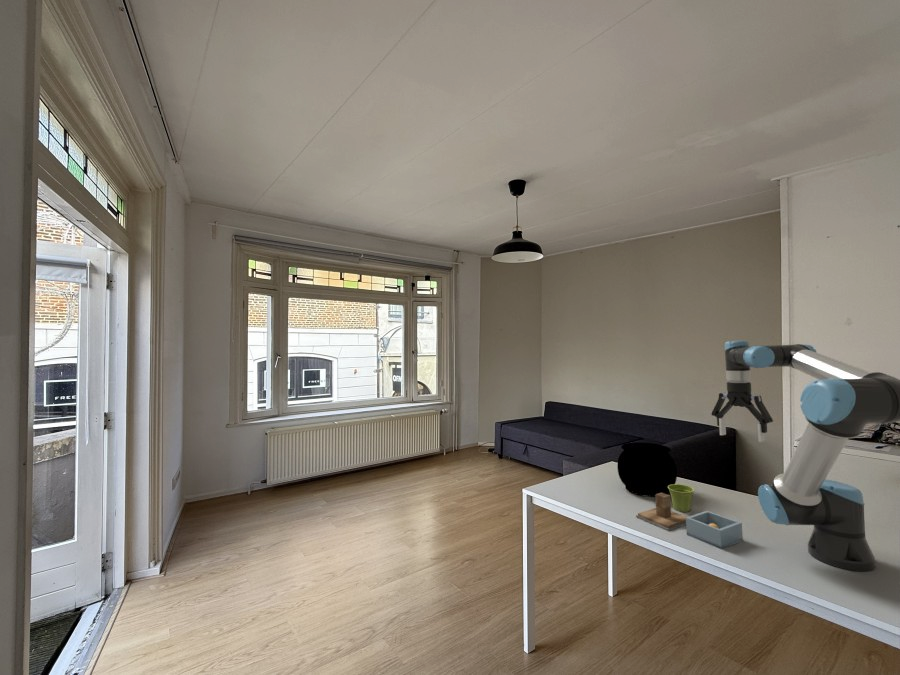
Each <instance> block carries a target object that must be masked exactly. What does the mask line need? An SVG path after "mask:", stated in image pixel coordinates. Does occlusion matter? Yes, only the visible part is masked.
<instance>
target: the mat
mask: <svg viewBox="0 0 900 675" xmlns="http://www.w3.org/2000/svg"><path fill="white" fill-rule="evenodd" d="M635 518H636V519H639V520H642V521H644V522H646V523H649V524H651V525H653V526H656V527H659V528H660V529H663V530H664V531H667V532H669V531H673V530H675V529H679V528H681V527H684V526H686V523H683V524H680V525H677V526H674V527H672V528H669V529H668V528H666V527H663V526H661V525H658V524H656V523H654V522H651V521H649V520H646V519H644V518H642V517H639V516H638V514H637V515H635Z"/></svg>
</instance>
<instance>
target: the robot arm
mask: <svg viewBox="0 0 900 675" xmlns="http://www.w3.org/2000/svg"><path fill="white" fill-rule="evenodd" d="M724 358H725V373H726V374H725V378H726V379H725V380H726V381H727V382H726V391H727V393H726V392H720V393H718V399H717V402H716V403H715V405H714V408H713V409H712V412H711V414H710V415H711V416H714V417H715V418H716V424H717V426H718V428H719V436H726V435H727V428H726V417H724V416H725V415H726V414H727V413H728V412H729V411H730V410H731V409H732V407H733V406H734V407H740V408H743V407H744V408H746V409H747V410H748V411H749V413H751V414H752V416H754V418H755V419H756V420H757V421H758V422H759V423H757V435H758V436H757V438H758V439H757V440H758V443H763V442H766V434H767V433H768V424H770V423H773V422H774V420H773V418H772V416H771V414H770V413H769V411H768V409H767V407H766V406H765V404H764V403H763V398H762V396H761V395H752V382H750V381H751V380H752V379H751V377H752V376H751V368H754V369H763V368H772V367H773V368H774V367H775V368H778V367H779V368H780V367H781V368H783V367H790V368H793V369H795V370H797V371H800V372H801V373H803V374H806V375H809V376H810V377H812V378H815V379H817V380H814V381H811V382H810V383H808V384H807V385H806V386H805V387H804V388H803V390H802V392H801V394H800V398H799V401H800V402H801V404H800V409H801V412H802V414H803V415H804V418H805V420H806V422H807V426H806V428H805V429H804V432H803V434H802V436H801V438H800V439H799V442H798V444H797V446H796V448H795V451H794V452H793V454H792V457H791V458H790V461H789V462H788V465H787V467H786V468H785V471H784V472H783V473H780V474H777V475H775V477H774V479H773V481H772V483H771V484H766V483H765V484H762V485H760V486H759V487H758V490H757V496H758V501H759V504H760V507H761V510H762V511H763V513H764V515H765V516H766V518H768V520H769V521H770V522H771V523H774V524H776V525H785V526H813V529H812V531H811V534H810V537H809V540H808V543H807V551H808V553H809V555H810V556H811V557H813V558H815V559H816V560H818V561H820V562H822V563H825V564H827V565H830V566H833V567H835V568H836V567H837V568H840V569H844V570H850V571H857V572H870V571H872V570H874V569H876V559H875V555H874V553H873V551H872V549H871V547H870V545H869V543H868V540H867V538H866V527H865V526H866V525H865V523H866V522H865V521H866V520H865V502H864V496H863V493H862V491H861V490H860V489H859V488H857V487H855V486H853V485H849V484H848V483H845V482H839V481H836V480H832V479H826V478H827V477H828V475H829V473H830V472H831V470H832V469H833V466H834V464H835V462H836V461H837V459H838V458H839V456H840V454H841V453H842V451H843V449H844V447H845V445H846V443H847V442H848V441H849V439H855V438H857V437H859V436H861V434H862V432H863V430H864V428H865V426H867V425H868V424H891V423H892V424H893V423H896V422H900V378H897V377H895V376H892V375H890V374H887V373H886V374H885V373H883V372H879V371H873V372H869V371H867V370H864V369H862V368H859V367H856V366H853V365H850V364H848V363H846V362H843V361H841V360H837V359H834V358H833V357H830V356H827V355H823V354H822V353H819V352H817V350H816V349H815V348H814V346H813V345H811V344H801V343H800V344H799V343H797V344H779V345H778V344H777V345H776V344H775V345H749V341H748V340H730V341H726V342H725V343H724ZM726 399H727V400H728V401H727V402H726V403H725V401H726ZM753 402H754V404H755V405H756V407H755V405H754V404H753ZM724 403H725V405H724ZM723 405H724V406H723ZM722 407H723V408H722Z"/></svg>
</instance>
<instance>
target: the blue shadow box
mask: <svg viewBox="0 0 900 675" xmlns="http://www.w3.org/2000/svg"><path fill="white" fill-rule="evenodd" d="M711 523H713V524H716V525H717V526H718V527H719V529H718V528H715V527H713V526H710V525H709V524H711ZM685 526H686V535H687V536H690V537H691V538H694V539H697V540H698V541H701V542H704V543H706V544H708V545H710V546H713V547H715V548H718V549H721V550H722V549H725V548H727V547H730V546H733V545H734V544H737V543H739V542H740V543H741V542H742V541H743V539H744V537H743V523H742V522H741V521H738V520H734V519H732V518H729V517H726V516H723V515H721V514H718V513H715V512H711V511H709V510H705V511H702V512H700V513H695V514H692V515H689V516H686V525H685Z"/></svg>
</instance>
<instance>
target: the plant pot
mask: <svg viewBox="0 0 900 675" xmlns="http://www.w3.org/2000/svg"><path fill="white" fill-rule="evenodd" d="M668 489H669V491H670V493H669V494H670V499H671V503H672V508H673V510H675V511H679V512H682V513H689V511H691V508H692V497H693V495H694V492H695V489H694V488H693V487H691V486H689V485H686V484H677V483H675V484H673V485H669V486H668Z"/></svg>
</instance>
